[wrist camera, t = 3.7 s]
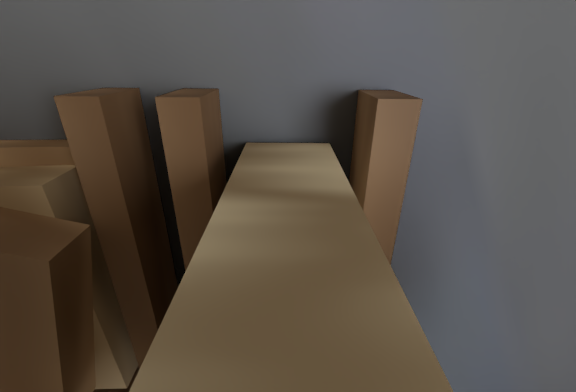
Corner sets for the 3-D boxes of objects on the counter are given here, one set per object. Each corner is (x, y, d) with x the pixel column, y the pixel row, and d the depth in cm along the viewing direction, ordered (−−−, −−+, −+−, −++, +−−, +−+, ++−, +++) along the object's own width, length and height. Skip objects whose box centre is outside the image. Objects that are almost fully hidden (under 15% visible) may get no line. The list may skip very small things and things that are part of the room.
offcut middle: (42, 353, 12) (11, 390, 11) (-64, 168, 9) (-129, 189, 7) (144, 351, 12) (127, 388, 11) (80, 165, 9) (41, 185, 7)
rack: (30, 382, 14) (-133, 588, 9) (-141, 85, 8) (-937, 140, 3) (356, 382, 14) (400, 587, 9) (406, 90, 8) (621, 150, 3)
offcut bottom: (67, 329, 14) (42, 359, 12) (-24, 135, 10) (-75, 148, 8) (165, 328, 14) (151, 358, 12) (113, 133, 10) (84, 146, 8)
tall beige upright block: (257, 347, 13) (204, 868, 5) (246, 142, 9) (-215, 1121, 1) (315, 348, 13) (366, 866, 5) (329, 143, 9) (804, 1104, 1)
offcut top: (-26, 369, 10) (-74, 418, 9) (-80, 190, 7) (-164, 221, 6) (96, 386, 11) (68, 435, 9) (90, 225, 8) (48, 261, 6)
